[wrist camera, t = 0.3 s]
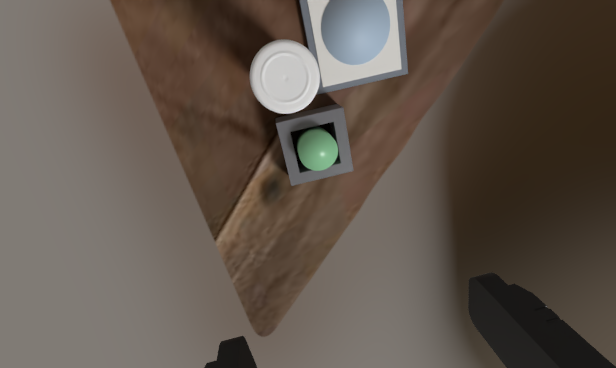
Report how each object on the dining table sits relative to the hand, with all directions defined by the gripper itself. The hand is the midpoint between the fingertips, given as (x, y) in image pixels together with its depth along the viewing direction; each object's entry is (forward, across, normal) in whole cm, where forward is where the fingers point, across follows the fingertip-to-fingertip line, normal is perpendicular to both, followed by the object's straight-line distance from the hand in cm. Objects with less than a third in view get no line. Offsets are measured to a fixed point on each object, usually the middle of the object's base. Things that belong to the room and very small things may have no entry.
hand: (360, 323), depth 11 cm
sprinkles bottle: (+26, 0, -7) cm, 27 cm away
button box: (+26, -2, +1) cm, 26 cm away
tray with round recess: (+26, -8, -13) cm, 30 cm away
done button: (+24, -2, +1) cm, 25 cm away
